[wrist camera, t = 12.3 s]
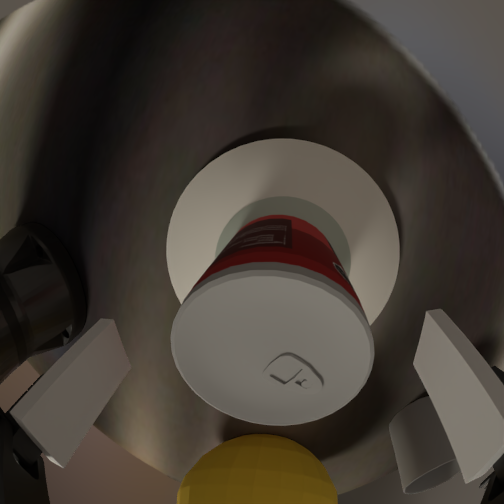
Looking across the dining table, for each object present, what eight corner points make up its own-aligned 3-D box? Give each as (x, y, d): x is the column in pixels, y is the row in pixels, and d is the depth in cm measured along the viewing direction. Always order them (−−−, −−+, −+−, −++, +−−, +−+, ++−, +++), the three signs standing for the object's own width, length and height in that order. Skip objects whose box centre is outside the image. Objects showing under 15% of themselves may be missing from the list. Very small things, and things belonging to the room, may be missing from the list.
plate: (192, 351, 25) (188, 360, 24) (159, 155, 20) (151, 155, 19) (382, 347, 22) (385, 355, 21) (393, 139, 17) (399, 137, 16)
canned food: (310, 325, 21) (318, 440, 11) (214, 290, 21) (156, 389, 11) (353, 237, 19) (416, 315, 8) (246, 195, 19) (193, 231, 8)
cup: (425, 388, 23) (452, 453, 14) (456, 401, 24) (482, 455, 14) (376, 430, 26) (388, 494, 17) (412, 439, 26) (427, 493, 17)
